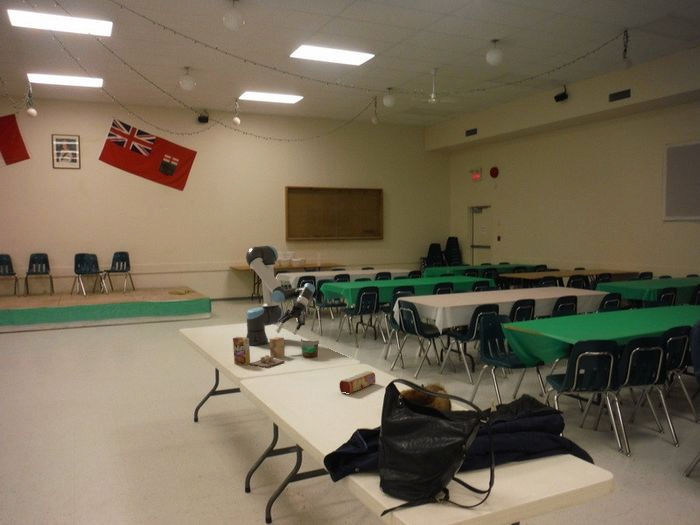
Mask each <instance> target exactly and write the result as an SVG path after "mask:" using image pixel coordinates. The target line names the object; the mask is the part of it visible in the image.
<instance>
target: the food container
mask: <svg viewBox="0 0 700 525" xmlns="http://www.w3.org/2000/svg"><path fill="white" fill-rule="evenodd" d="M299 345H300V346H301V352H302V353H301V354H302V358H304V359H315V358H317V357H318V353H319V352H318V350H319V345H320V341H319V340H303V339H302V338H300V342H299Z"/></svg>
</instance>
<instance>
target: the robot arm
mask: <svg viewBox="0 0 700 525" xmlns="http://www.w3.org/2000/svg"><path fill="white" fill-rule="evenodd" d="M278 258H279V254H278V251H277V249H276V247H274V246H272V245H261V246H252V247H250V248H249V249H248V250H247V252H246V255H245V259H246V263H247V265H248V266H249V268H250V269H252V270H253V271H254V272H255V273H256V274H257V276H259V278H260V279H261V285H262V297H263V304H262V305H261V307H259V306H258V307H257V306H256V307H254V308H250V309H247V312H246V329H247V330H246V332H247V334H246V337H245V338H249V347H250V346H253V347H257V346H264V345H267V344H268V343H269V339H268V337H267V333H266V326H271V325H277V328H276V329H275V331H276V333H277V334H280V332H281V330H282V329H283V327H284V324H285V323H286V322H288V321H290V320H291V319H294V318H295V319H297V323H296V325H295V326H294V329H293V331H292V334H293V335H294V336H297V333H298V331H299V330H300V329H301V327H302V326H305V325H306V316H307V312H306V311H305V310H306V308H307V307H308V304H309V302H310V301H311V299H312V297H313V295H314V293H315V290H316V287H315V285H313V284H312V283H311V282H310V283H309V282H307V283H305V284H304V285H303V287H292V288H287V289H284V287H283V286H282V285H281V284H280V283H279V281H278V280H277V279H276V278H275V273H274V272H275V271H274V267H275V266H276V262H277V261H278ZM292 301H295V302H294V304H293V306H292V309H291V310H290V309H287V311H286V312H285V313H284V310H283V308H282V307H281V306H280V304H281V303H284V302H292ZM279 303H280V304H279Z"/></svg>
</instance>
